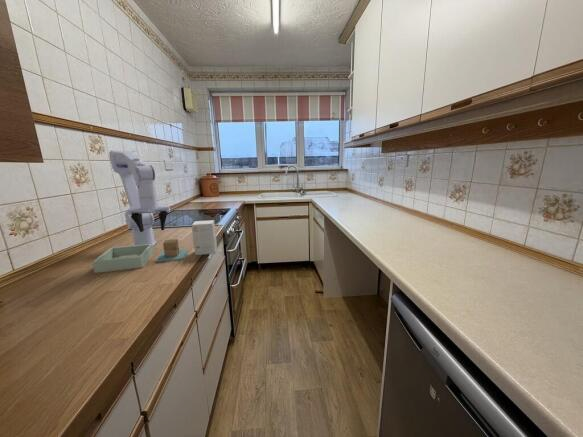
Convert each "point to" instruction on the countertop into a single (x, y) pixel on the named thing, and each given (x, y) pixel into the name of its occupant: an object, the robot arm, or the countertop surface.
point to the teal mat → (180, 257)
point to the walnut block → (171, 248)
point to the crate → (123, 258)
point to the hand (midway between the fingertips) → (152, 230)
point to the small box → (204, 237)
